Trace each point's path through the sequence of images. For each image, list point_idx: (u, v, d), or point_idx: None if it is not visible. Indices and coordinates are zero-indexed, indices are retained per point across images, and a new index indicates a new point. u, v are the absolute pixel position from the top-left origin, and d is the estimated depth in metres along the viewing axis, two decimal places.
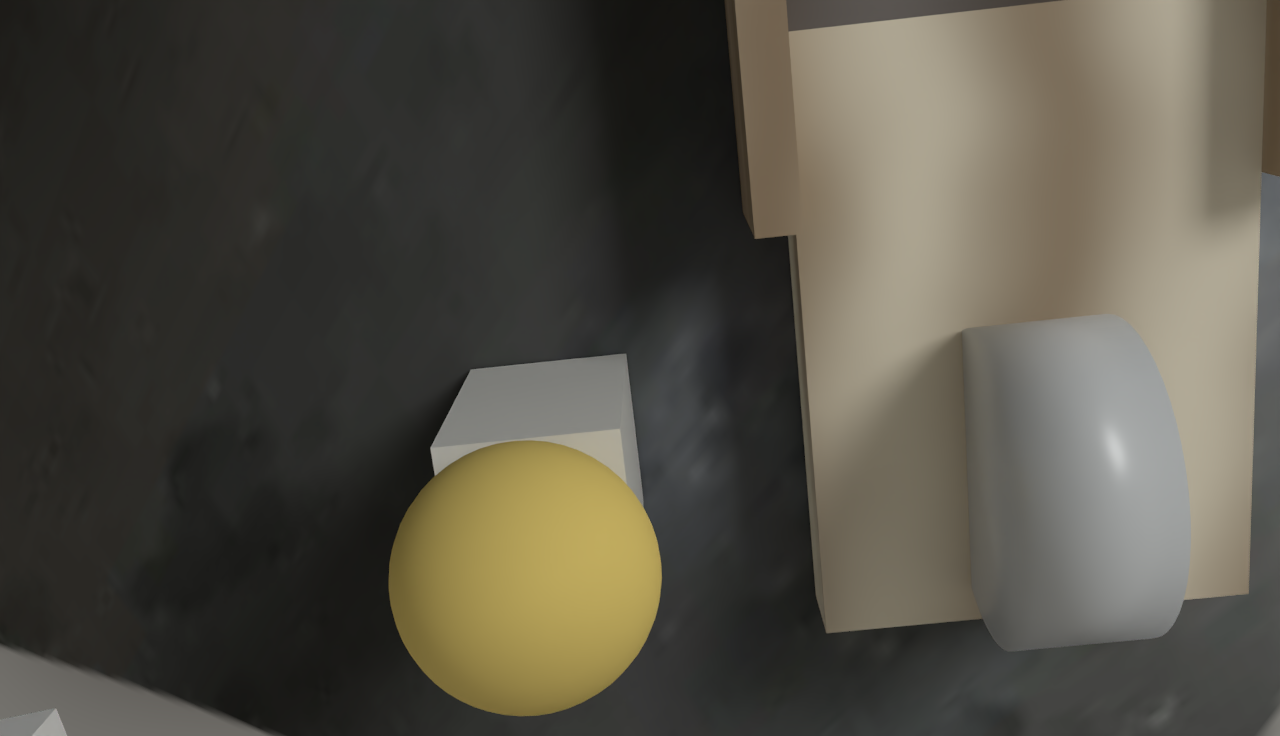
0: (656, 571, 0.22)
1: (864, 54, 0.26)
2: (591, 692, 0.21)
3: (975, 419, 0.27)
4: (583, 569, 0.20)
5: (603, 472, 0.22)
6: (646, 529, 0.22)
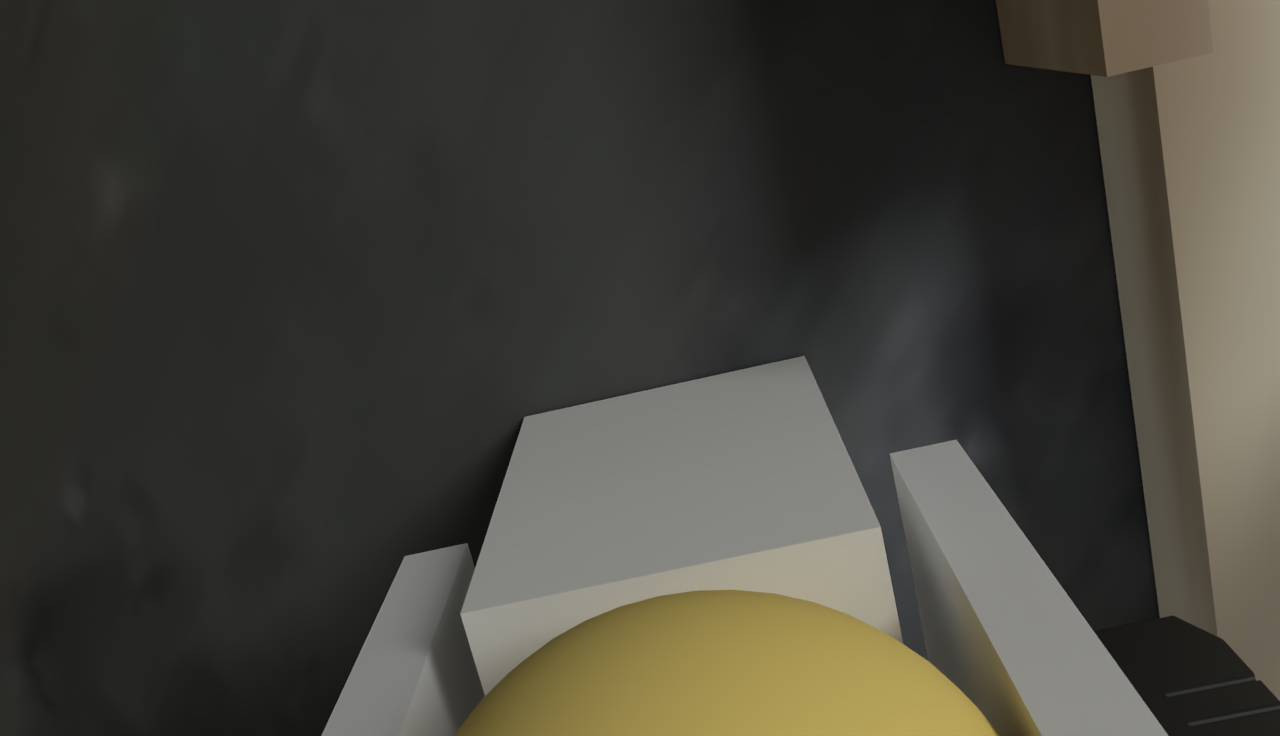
0: None
1: None
2: None
3: None
4: None
5: (904, 667, 0.08)
6: None
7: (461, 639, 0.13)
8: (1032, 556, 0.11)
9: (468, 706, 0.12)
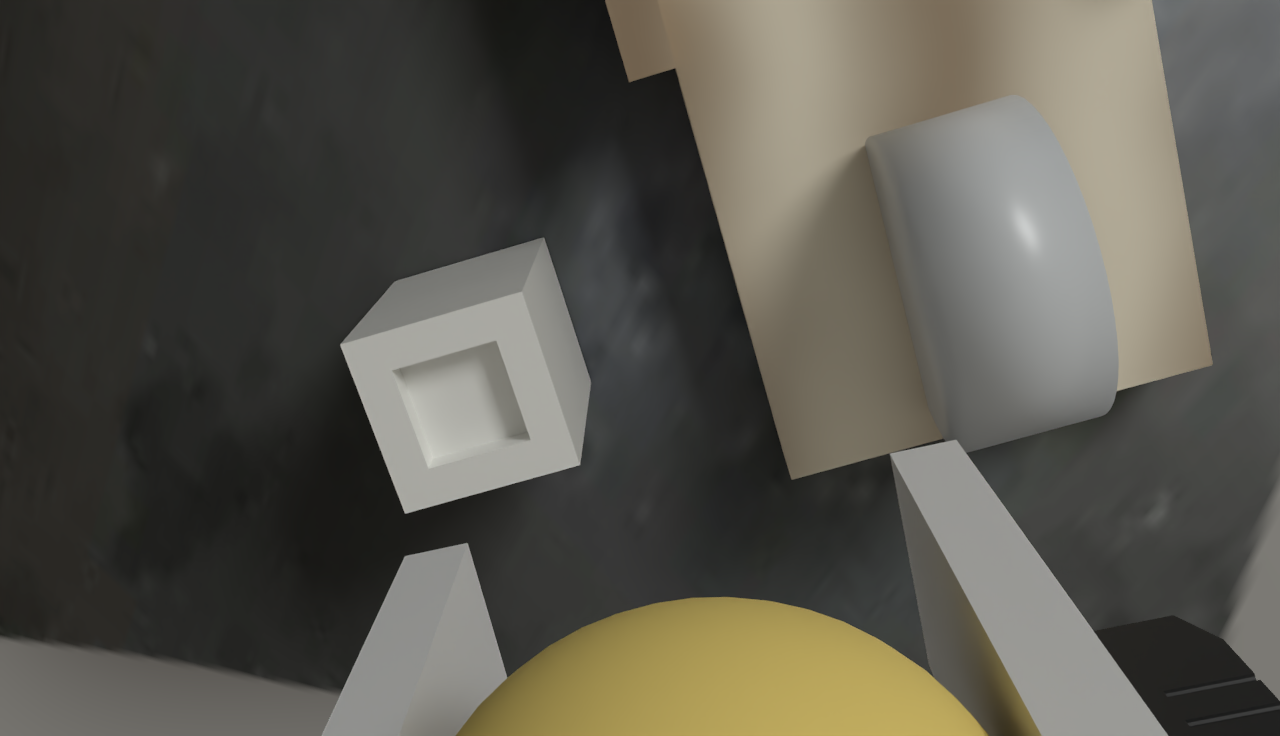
0: None
1: None
2: None
3: (892, 229, 0.26)
4: None
5: (898, 675, 0.09)
6: None
7: (461, 639, 0.13)
8: (1032, 556, 0.11)
9: (468, 706, 0.12)
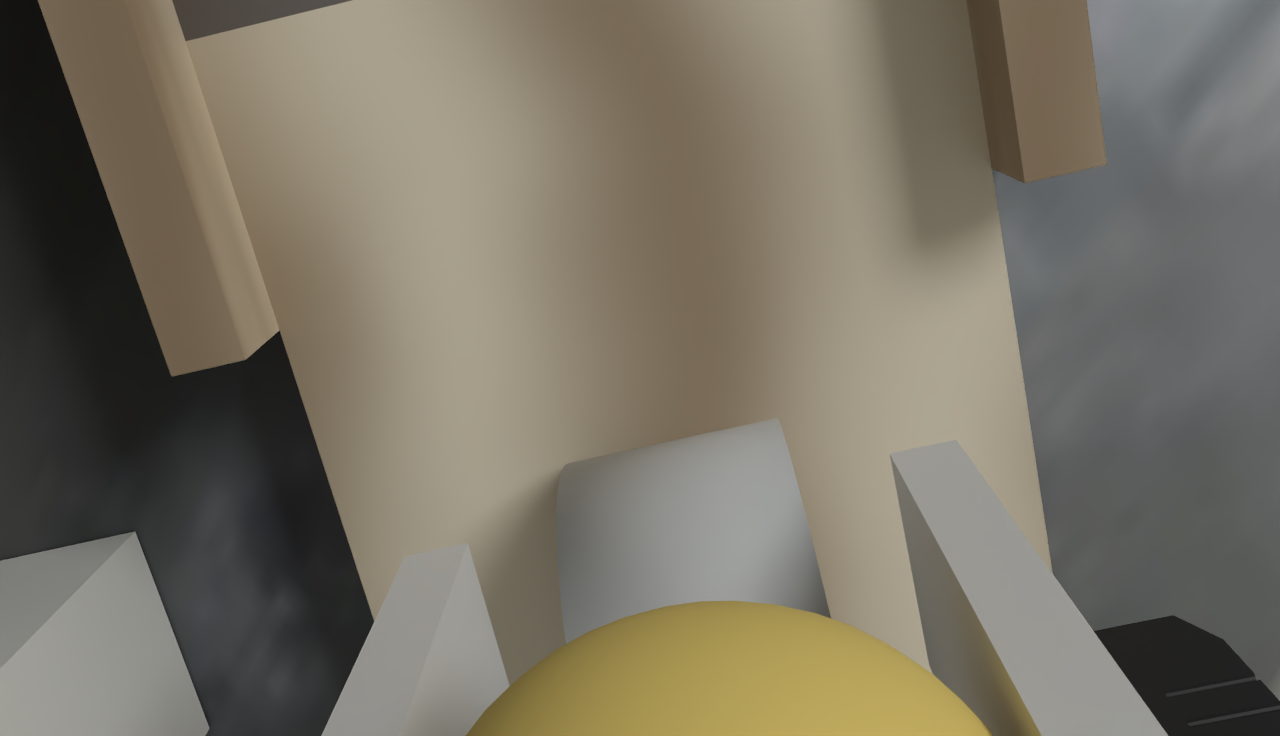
0: None
1: (324, 59, 0.16)
2: None
3: None
4: None
5: (907, 680, 0.08)
6: None
7: (461, 639, 0.13)
8: (1032, 556, 0.11)
9: (468, 706, 0.12)
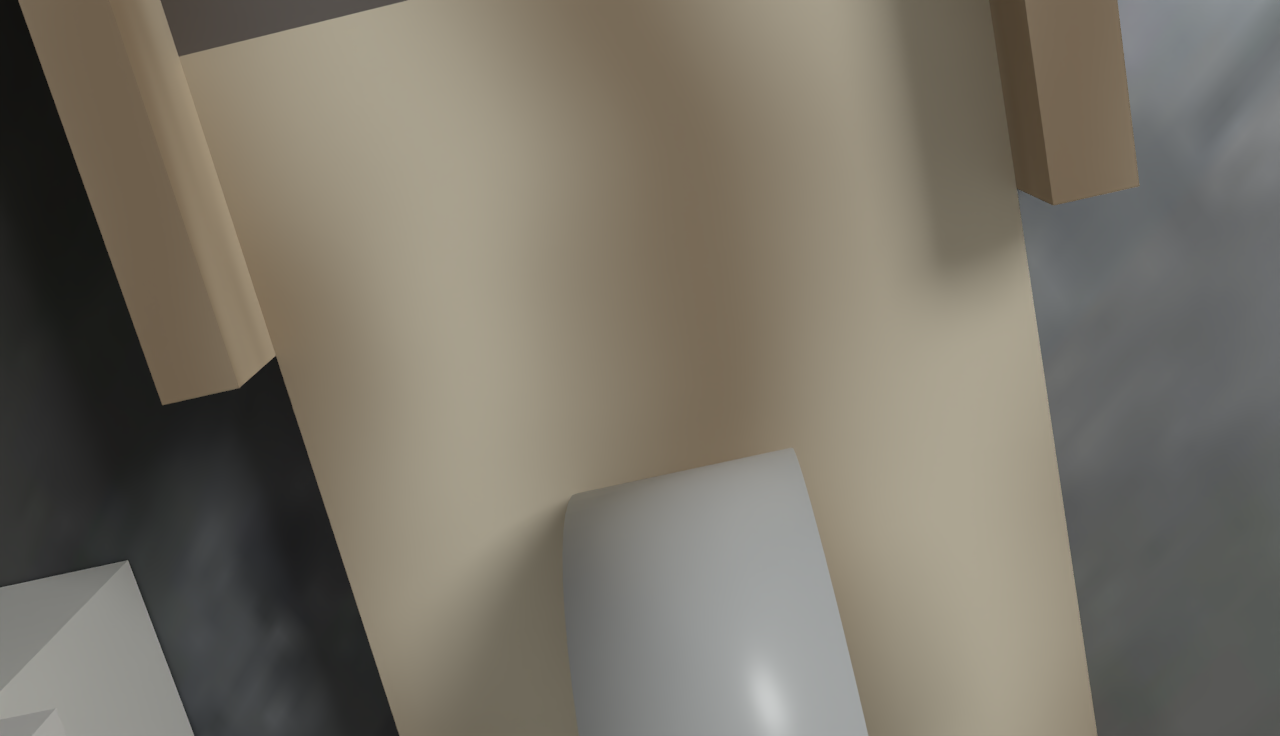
0: None
1: (323, 75, 0.15)
2: None
3: None
4: None
5: None
6: None
7: None
8: None
9: None
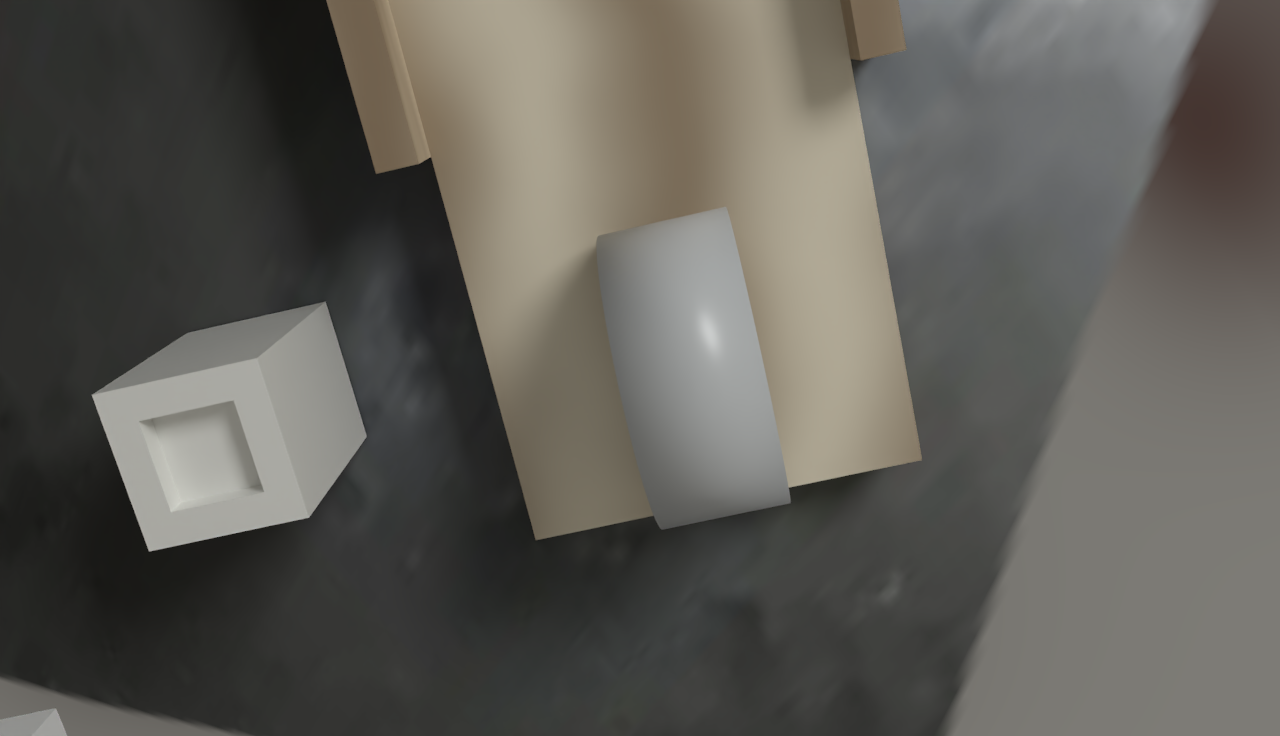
0: None
1: None
2: None
3: None
4: None
5: None
6: None
7: None
8: None
9: None
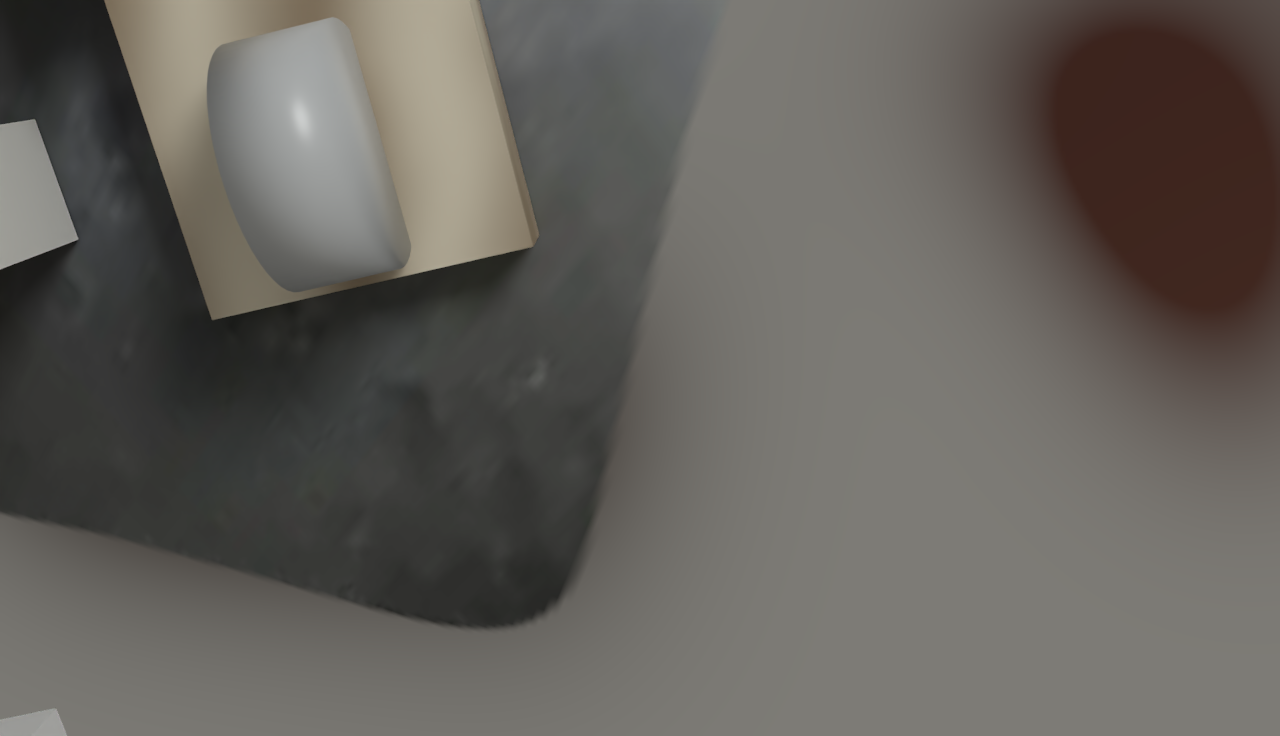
0: None
1: None
2: None
3: None
4: None
5: None
6: None
7: None
8: None
9: None
